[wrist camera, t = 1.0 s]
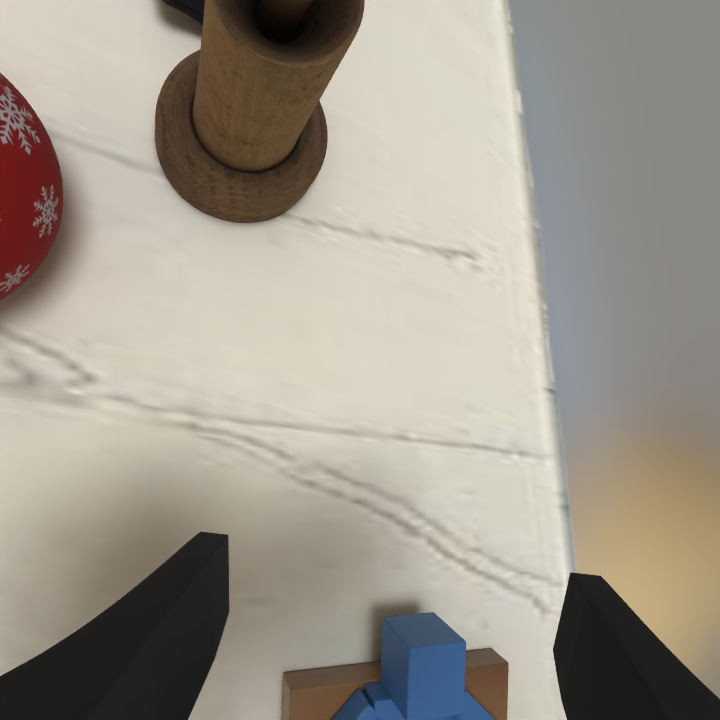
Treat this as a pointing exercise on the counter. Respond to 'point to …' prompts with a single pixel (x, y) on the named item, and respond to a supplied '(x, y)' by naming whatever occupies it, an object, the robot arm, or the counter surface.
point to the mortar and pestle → (253, 104)
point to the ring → (417, 675)
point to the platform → (337, 684)
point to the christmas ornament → (25, 190)
